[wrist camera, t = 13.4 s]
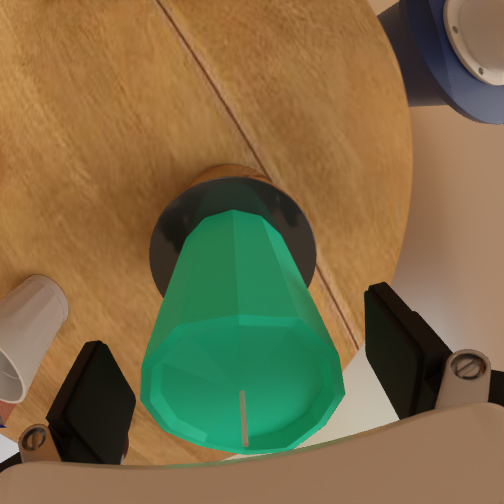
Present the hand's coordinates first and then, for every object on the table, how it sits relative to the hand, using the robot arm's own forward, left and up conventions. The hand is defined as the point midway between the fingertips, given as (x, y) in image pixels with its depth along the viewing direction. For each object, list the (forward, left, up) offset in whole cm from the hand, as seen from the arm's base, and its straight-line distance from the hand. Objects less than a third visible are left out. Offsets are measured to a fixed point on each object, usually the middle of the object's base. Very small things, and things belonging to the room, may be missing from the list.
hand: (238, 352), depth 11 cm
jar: (0, 0, -18) cm, 18 cm away
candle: (0, 0, -8) cm, 8 cm away
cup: (+22, +4, -18) cm, 29 cm away
